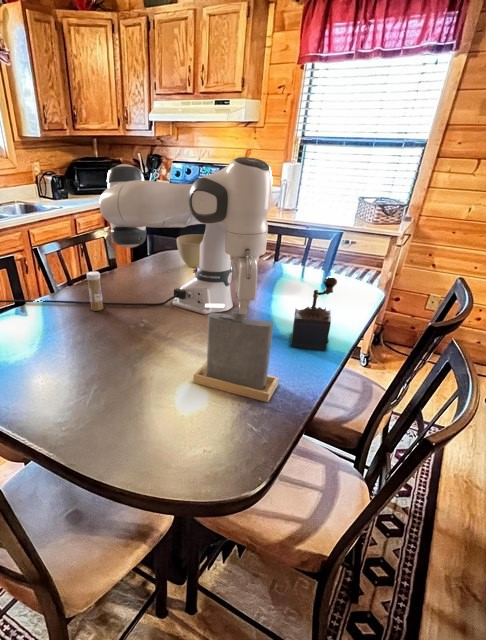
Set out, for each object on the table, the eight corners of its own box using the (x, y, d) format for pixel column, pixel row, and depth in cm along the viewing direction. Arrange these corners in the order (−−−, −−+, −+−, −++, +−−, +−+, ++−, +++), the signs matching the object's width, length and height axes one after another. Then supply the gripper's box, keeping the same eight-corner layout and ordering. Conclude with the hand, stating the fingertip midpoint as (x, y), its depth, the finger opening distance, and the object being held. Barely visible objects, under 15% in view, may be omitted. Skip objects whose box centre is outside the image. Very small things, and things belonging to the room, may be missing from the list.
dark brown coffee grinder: (328, 351, 122) (340, 293, 113) (289, 347, 125) (298, 289, 115) (327, 329, 135) (338, 275, 125) (292, 326, 138) (300, 272, 128)
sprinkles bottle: (102, 311, 151) (97, 275, 143) (89, 311, 151) (84, 274, 144) (104, 306, 154) (100, 271, 147) (92, 306, 155) (88, 270, 148)
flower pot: (174, 270, 191) (173, 243, 185) (180, 259, 206) (179, 233, 200) (213, 271, 188) (213, 244, 182) (216, 260, 203) (217, 234, 197)
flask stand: (193, 382, 109) (193, 374, 108) (207, 367, 115) (207, 360, 114) (267, 402, 101) (268, 394, 99) (277, 385, 107) (278, 377, 106)
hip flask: (267, 384, 106) (276, 312, 96) (263, 392, 103) (271, 318, 92) (209, 372, 112) (211, 302, 101) (203, 379, 109) (205, 308, 98)
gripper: (267, 257, 80) (260, 323, 87) (255, 233, 97) (250, 290, 105) (234, 257, 80) (230, 323, 88) (228, 233, 97) (225, 290, 105)
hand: (240, 304), depth 96 cm, fingers open, 8 cm apart
